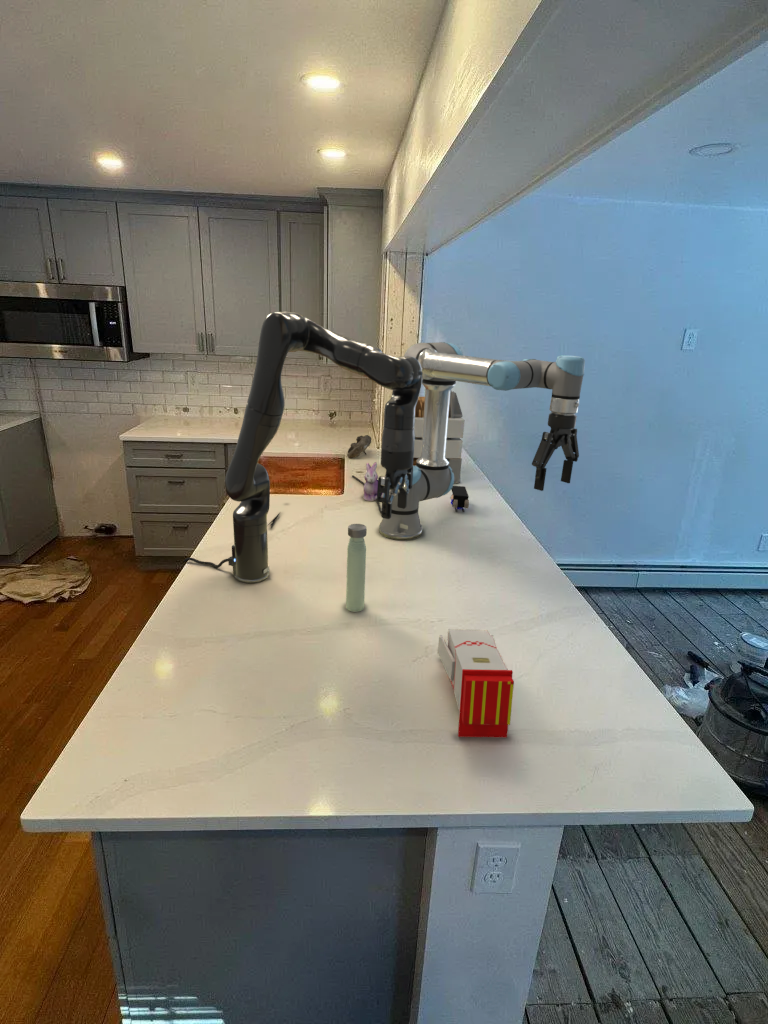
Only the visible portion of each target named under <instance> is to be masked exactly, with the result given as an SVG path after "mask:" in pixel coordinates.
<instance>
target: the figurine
mask: <svg viewBox="0 0 768 1024" xmlns="http://www.w3.org/2000/svg"><path fill="white" fill-rule="evenodd" d="M365 464H366V465H365V466H366V467H365V470H366V471H365V474H364V475H363V476H364V480H365V482H364V483H365V485H363V495H362V498H363V500H364V501H368V502H373V501H376V499H377V490H378V478H379V475H378V473H377V468H378V462H377V461H375V462H374V463H373V464H372V465H370V463H369V462H366V463H365ZM381 496H382V493H381Z"/></svg>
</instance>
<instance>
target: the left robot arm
mask: <svg viewBox="0 0 768 1024" xmlns="http://www.w3.org/2000/svg"><path fill="white" fill-rule="evenodd" d="M296 352H307V353H312V354H317V355H318V356H319V355H320V356H323V357H324V358H326V359H328V360H329V361H331V362H332V363H334V364H335V365H336V366H338V367H340V368H341V369H343V370H346V371H348V372H351V373H354V374H356V375H359V376H361V377H364V378H368V379H369V380H370V381H371V382H374V383H375V384H377V385H378V386H380V387H382V388H385V389H387V390H391V391H392V393H391V396H390V398H389V400H388V401H387V402H386V403H385V405H384V410H383V425H382V426H383V427H382V432H381V433H382V434H381V447H380V466H381V467H382V468H384V469H385V474H384V476H382V475H381V476H379V475H378V479H377V480H378V490H377V501H376V503H377V502H379V503H381V511H382V514H381V513H380V514H381V518H382V519H383V518H385V519H390V518H391V511H392V504H391V503H392V500H393V497H394V496H395V495H396V494H397V491H398V492H399V493H398V503H397V506H398V508H403V509H405V508H406V507H407V494H408V493H409V489H412V483H413V458H414V442H415V434H414V425H415V408H416V404H417V401H418V397H420V393H421V389H422V386H423V384H422V368H421V365H420V363H419V362H418V360H417V359H415V358H414V357H411V356H404V355H403V356H393V355H389V354H387V353H385V352H383V351H382V349H380V348H379V347H377V346H375V345H372V344H370V343H366V342H363V341H361V340H358V339H355V338H353V337H349V336H345V335H343V334H340V333H337V332H335V331H333V330H330V329H328V328H325V327H324V326H322V325H320V324H318V323H317V322H315V321H313V320H312V319H310V318H308V317H306V316H304V315H302V314H301V313H298V312H295V311H274V312H271V313H269V314H268V315H267V316H266V317H265V319H264V320H263V322H262V325H261V329H260V334H259V341H258V347H257V355H256V362H255V368H254V372H253V377H252V382H251V386H250V391H249V394H248V398H247V401H246V405H245V408H244V414H243V418H242V424H241V427H240V431H239V434H238V439H237V442H236V445H235V448H234V451H233V452H234V453H233V455H232V458H231V460H230V463H229V465H228V467H227V471H226V473H225V478H224V488H225V492H226V494H227V496H228V497H229V498H230V499H231V500H233V501H235V502H237V503H239V504H238V505H237V507H236V508H235V509H234V510H233V513H232V527H233V543H234V544H232V545H231V556H230V557H228V558H225V559H222V560H221V561H220V562H219V563H218V564H216V563H214V562H211V561H203V560H199V559H196V558H194V557H186V558H184V560H183V561H182V562H183V563H186V562H188V561H192V562H194V563H196V564H199V565H207V566H212V567H213V568H214V569H219V568H220V567H222V566H223V564H225V563H228V566H231V567H232V576H233V577H235V579H236V580H237V581H239V582H241V583H244V584H245V583H246V584H254V583H260V582H263V581H265V580H266V579H268V578H269V576H270V572H269V571H270V566H269V545H268V526H267V525H268V514H269V511H270V507H271V505H270V503H271V502H270V501H271V480H270V475H269V473H268V471H267V469H266V468H265V466H264V465H263V464H261V463H259V460H260V458H261V456H262V455H263V453H264V452H265V450H266V449H267V448H268V446H269V445H270V444H271V442H272V440H273V438H275V436H276V435H277V433H278V430H279V428H280V427H281V422H282V419H283V414H284V412H285V406H286V401H285V393H284V388H283V385H282V373H283V368H284V366H285V365H284V364H285V361H286V359H287V355H288V353H296ZM408 480H409V482H408ZM381 493H382V496H381ZM389 495H390V496H389Z"/></svg>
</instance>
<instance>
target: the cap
mask: <svg viewBox="0 0 768 1024" xmlns="http://www.w3.org/2000/svg"><path fill="white" fill-rule="evenodd" d="M347 535H348V536H349V538H350V537H353V538H363V537H364V538H366V536H367V525H365V524H362V523H351V524H349V525H348V527H347Z"/></svg>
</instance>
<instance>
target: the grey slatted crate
mask: <svg viewBox="0 0 768 1024" xmlns="http://www.w3.org/2000/svg"><path fill="white" fill-rule="evenodd" d="M424 404H425V396H419V397H418V401H417V404H416V408H415V425H414V434H415V442H414V458H413V466H416V461H417V459H418V458H420V457H421V449H422V434H423V419H424ZM464 429H465V419H464V418H463V411H462V408H461V405H460V402H459V398H458V395H457V392H455V391H453V390H451V392H450V404H449V416H448V428H447V441H446V453H445V458H446V459H447V461H448V462H449V466H450V467H451V469H452V473H454V484H455V483H456V484H459V483H461V472H462V461H463V460H462V453H463V442H464V441H463V440H462V439H463V438H464V431H465V430H464Z"/></svg>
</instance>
